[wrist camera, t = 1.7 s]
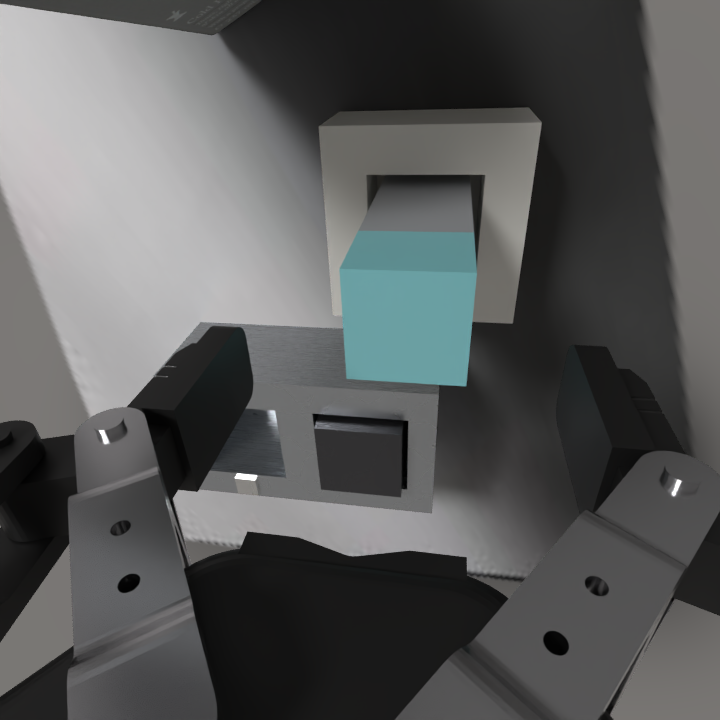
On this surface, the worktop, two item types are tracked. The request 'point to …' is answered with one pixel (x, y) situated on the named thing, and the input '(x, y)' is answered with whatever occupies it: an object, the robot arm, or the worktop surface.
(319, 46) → the worktop surface
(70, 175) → the worktop surface
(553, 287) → the worktop surface
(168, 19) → the skincare box
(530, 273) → the worktop surface
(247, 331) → the metal switch box
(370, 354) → the plug
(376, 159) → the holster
